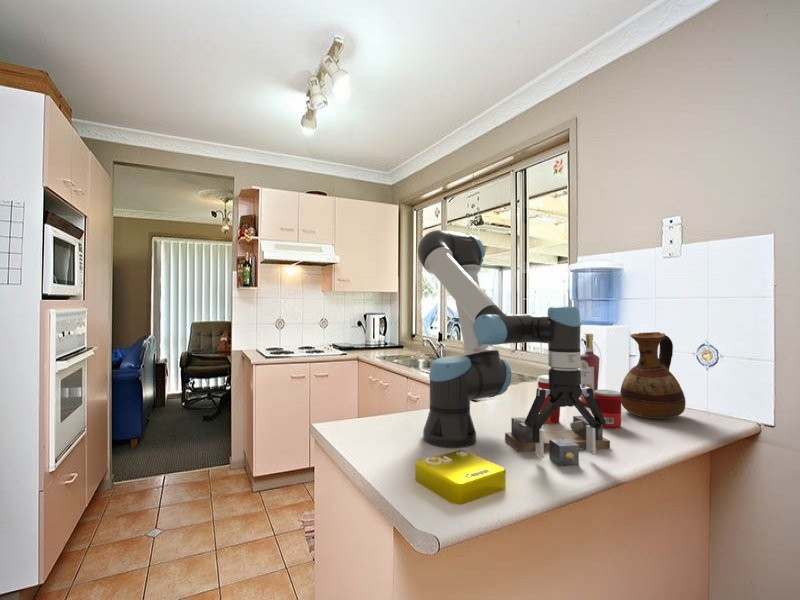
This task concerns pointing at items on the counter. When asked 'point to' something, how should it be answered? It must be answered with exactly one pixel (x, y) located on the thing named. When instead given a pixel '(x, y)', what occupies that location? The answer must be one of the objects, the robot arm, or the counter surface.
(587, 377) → the liquor
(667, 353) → the ceramic pitcher
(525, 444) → the shaft stand
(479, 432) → the counter surface
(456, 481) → the element tile
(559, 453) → the coupler
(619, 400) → the canned food
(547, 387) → the coffee cup
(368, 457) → the counter surface
